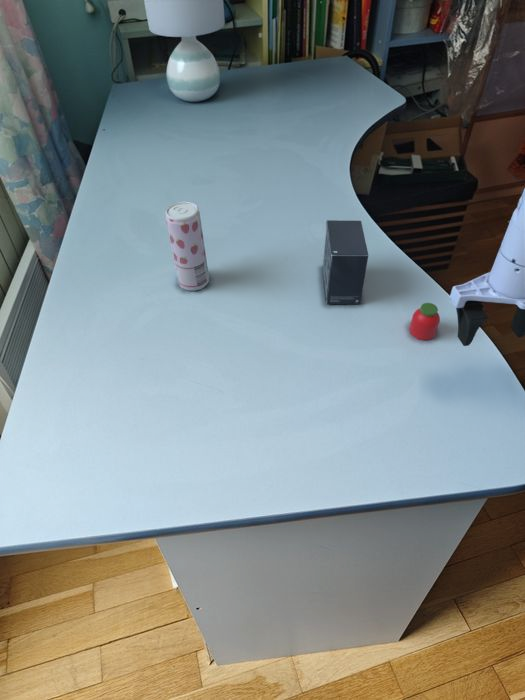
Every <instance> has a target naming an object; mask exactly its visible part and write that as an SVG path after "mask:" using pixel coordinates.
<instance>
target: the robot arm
mask: <svg viewBox="0 0 525 700" xmlns="http://www.w3.org/2000/svg"><path fill="white" fill-rule="evenodd" d="M448 299H449V300H450V301H451V303H452V305H453V306H454V308H455V309H456V316H457V338H458V340H459V341H460V344H461V345H462V346H463V347H467V346H470V345H471V344H472V343H473V340H474V338H475V336H476V334H477V332H478V331H479V329H480V327H481V326H482V325H483V324H484V323H485V322H487V320H489V318H490V317H488V315H487V313H486V312H485V310H484V309H483V308H484V304H483V302H485V303H496V304H508V305H516V306H517V307H516V311H515V312H514V315H513V317H512V320H511V323H510V329H511V330H512V332H513V334H515V336H516V337H517V338H518V339H520V338H523V337H524V336H525V188H524V189H523V192H522V193H521V196H520V198H519V200H518V202H517V206H516V208H515V209H514V211H513V212H512V215H511V218H510V220H509V223H508V226H507V228H506V231H505V234H504V236H503V239H502V240H501V244H500V247H499V248H498V252H497V254H496V257H495V259H494V262H493V265H492V267H491V269H490V271H488V272H487V273H484V274H482V275H480V276H477V277H476V278H473V279H471V280H469V281H467V282H465V283H462V284H458V285H454V286H452V288H451V291H450V295H449V298H448Z"/></svg>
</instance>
